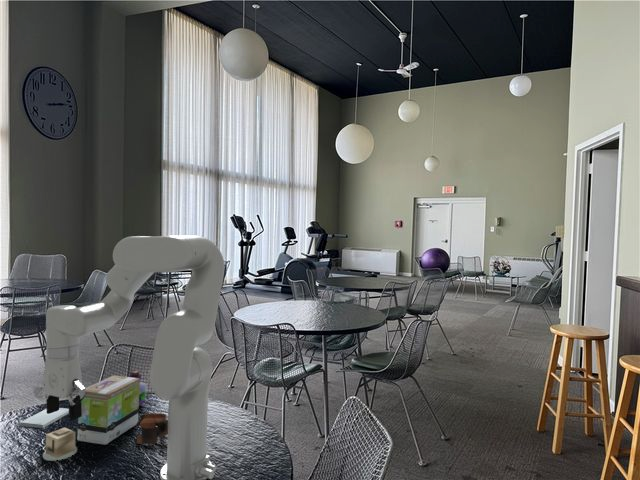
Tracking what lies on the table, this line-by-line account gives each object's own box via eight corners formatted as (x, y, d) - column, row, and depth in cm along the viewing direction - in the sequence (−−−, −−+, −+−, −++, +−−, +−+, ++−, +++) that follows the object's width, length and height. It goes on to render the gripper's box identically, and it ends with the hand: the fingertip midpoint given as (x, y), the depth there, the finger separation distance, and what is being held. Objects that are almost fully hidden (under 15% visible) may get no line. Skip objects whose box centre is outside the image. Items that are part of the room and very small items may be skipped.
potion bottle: (143, 410, 149) (144, 375, 149) (116, 411, 148) (117, 375, 148) (150, 400, 158) (150, 367, 157) (124, 401, 157) (125, 367, 156)
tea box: (107, 446, 125) (108, 393, 124) (76, 441, 127) (77, 390, 126) (139, 423, 140) (140, 376, 139) (111, 419, 142) (112, 373, 141)
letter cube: (56, 458, 116) (56, 438, 116) (45, 453, 119) (45, 434, 119) (75, 450, 121) (75, 431, 121) (64, 445, 123) (64, 427, 123)
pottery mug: (126, 445, 126) (130, 414, 130) (148, 447, 134) (152, 417, 138) (160, 441, 123) (164, 410, 127) (181, 443, 131) (184, 413, 135)
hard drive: (43, 424, 134) (71, 408, 147) (18, 422, 135) (48, 406, 148) (43, 430, 134) (71, 413, 147) (18, 427, 135) (48, 411, 148)
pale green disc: (83, 450, 122) (83, 449, 122) (54, 463, 114) (54, 462, 114) (65, 443, 125) (65, 441, 125) (36, 455, 118) (36, 453, 118)
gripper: (29, 351, 120) (30, 414, 120) (69, 359, 112) (70, 426, 112) (57, 345, 127) (58, 405, 127) (96, 352, 119) (97, 416, 119)
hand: (64, 415), depth 119 cm, fingers open, 9 cm apart
